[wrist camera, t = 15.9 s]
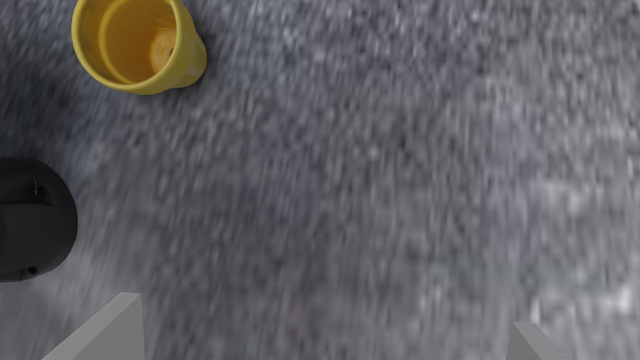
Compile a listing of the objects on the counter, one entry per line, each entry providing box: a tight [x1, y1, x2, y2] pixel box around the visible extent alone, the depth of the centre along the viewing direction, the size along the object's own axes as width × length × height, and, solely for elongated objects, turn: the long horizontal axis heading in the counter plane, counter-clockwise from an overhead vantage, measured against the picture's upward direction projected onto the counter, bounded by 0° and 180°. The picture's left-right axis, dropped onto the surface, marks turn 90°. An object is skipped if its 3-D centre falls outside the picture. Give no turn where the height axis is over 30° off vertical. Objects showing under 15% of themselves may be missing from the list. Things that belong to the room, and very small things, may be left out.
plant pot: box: [71, 0, 207, 95], centre depth 37 cm, size 10×10×10 cm
